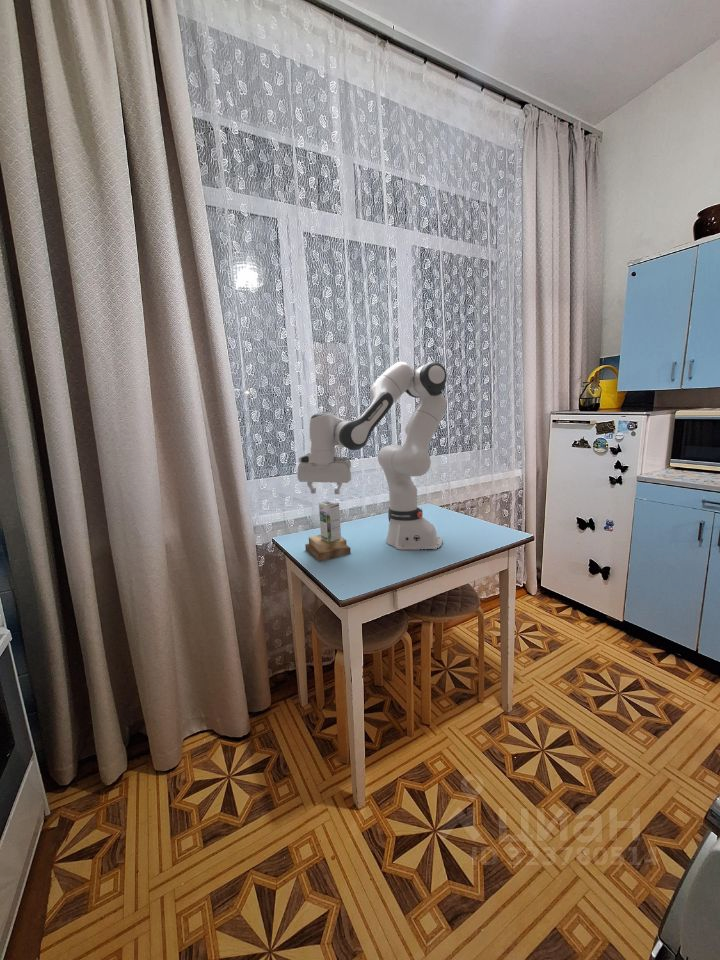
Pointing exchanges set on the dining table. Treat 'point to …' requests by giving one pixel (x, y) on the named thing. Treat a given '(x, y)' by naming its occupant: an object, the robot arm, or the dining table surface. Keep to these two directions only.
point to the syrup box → (329, 521)
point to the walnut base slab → (327, 553)
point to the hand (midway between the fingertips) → (325, 493)
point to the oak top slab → (326, 544)
